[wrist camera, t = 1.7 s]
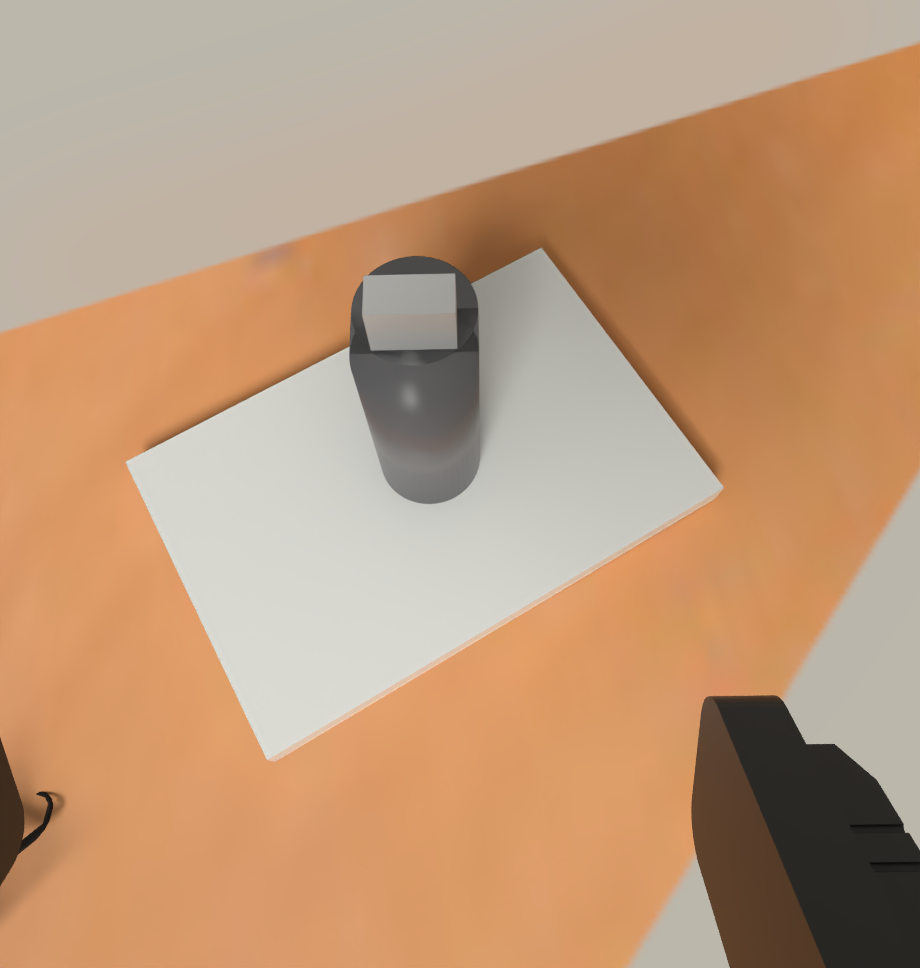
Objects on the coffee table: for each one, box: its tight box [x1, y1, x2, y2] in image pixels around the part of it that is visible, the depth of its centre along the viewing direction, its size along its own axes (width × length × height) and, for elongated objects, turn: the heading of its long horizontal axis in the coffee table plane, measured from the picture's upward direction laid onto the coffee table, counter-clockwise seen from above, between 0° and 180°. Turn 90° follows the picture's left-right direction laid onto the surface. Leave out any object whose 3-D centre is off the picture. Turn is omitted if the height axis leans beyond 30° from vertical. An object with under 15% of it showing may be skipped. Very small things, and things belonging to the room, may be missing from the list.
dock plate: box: [126, 248, 724, 761], centre depth 30 cm, size 18×12×1 cm, turn 120°
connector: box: [349, 256, 480, 504], centre depth 25 cm, size 5×4×9 cm
